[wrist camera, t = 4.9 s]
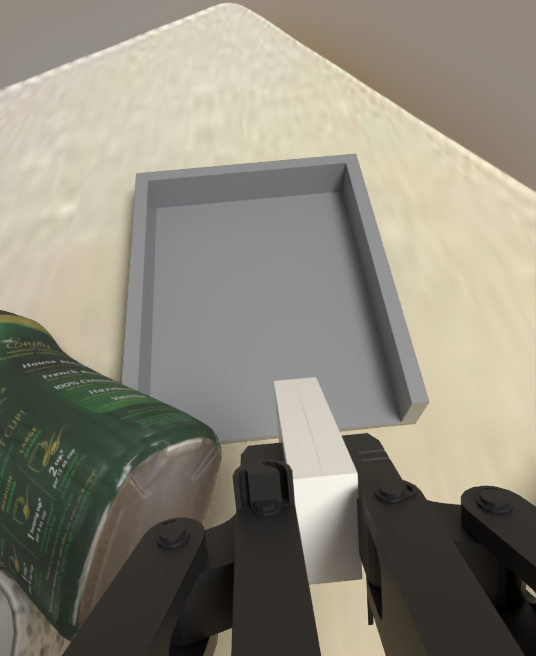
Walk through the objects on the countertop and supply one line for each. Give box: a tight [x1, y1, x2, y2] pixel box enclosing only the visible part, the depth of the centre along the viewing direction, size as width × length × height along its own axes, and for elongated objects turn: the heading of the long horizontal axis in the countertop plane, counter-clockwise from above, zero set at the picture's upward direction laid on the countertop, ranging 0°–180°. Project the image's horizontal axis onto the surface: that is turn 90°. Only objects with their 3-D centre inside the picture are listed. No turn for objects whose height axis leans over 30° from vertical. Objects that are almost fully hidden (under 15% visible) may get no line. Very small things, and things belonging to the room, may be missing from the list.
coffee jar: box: [0, 310, 221, 641], centre depth 25 cm, size 10×8×19 cm
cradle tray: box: [122, 154, 429, 444], centre depth 35 cm, size 22×18×4 cm
